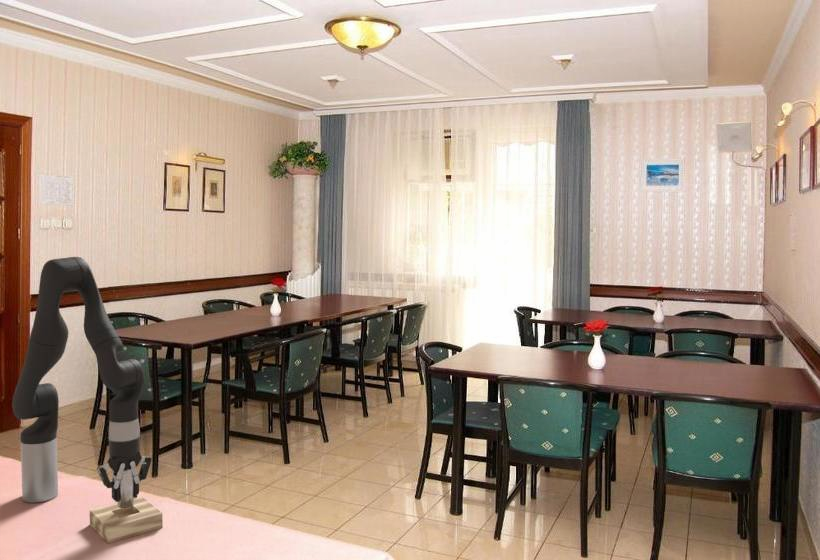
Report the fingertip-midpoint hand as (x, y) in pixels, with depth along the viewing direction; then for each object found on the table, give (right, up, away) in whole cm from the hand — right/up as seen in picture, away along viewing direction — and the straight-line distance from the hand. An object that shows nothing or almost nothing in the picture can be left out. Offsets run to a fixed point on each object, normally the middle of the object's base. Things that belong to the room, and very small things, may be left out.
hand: (125, 498), depth 182 cm
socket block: (0, -8, +1) cm, 8 cm away
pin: (0, -2, 0) cm, 2 cm away
